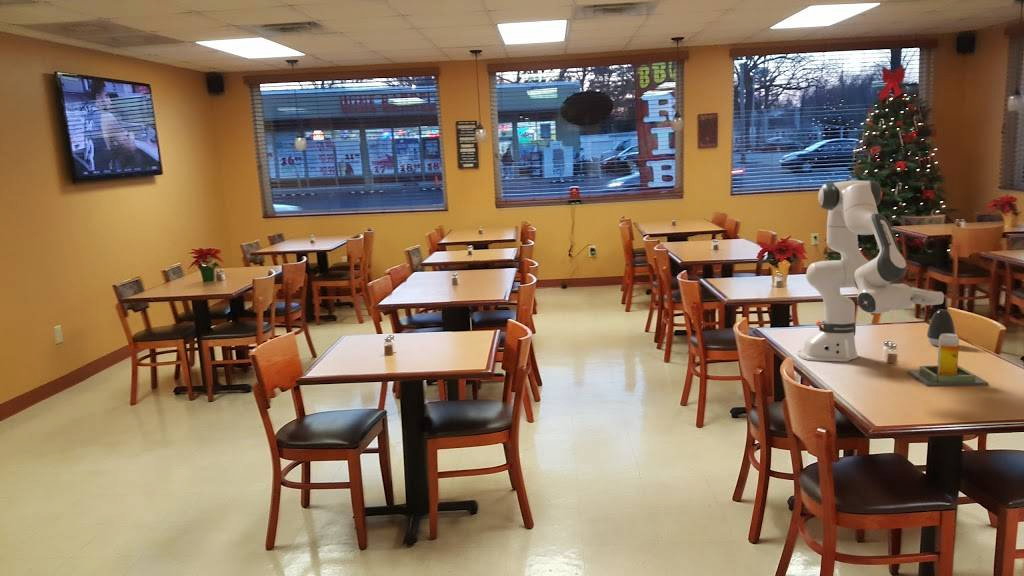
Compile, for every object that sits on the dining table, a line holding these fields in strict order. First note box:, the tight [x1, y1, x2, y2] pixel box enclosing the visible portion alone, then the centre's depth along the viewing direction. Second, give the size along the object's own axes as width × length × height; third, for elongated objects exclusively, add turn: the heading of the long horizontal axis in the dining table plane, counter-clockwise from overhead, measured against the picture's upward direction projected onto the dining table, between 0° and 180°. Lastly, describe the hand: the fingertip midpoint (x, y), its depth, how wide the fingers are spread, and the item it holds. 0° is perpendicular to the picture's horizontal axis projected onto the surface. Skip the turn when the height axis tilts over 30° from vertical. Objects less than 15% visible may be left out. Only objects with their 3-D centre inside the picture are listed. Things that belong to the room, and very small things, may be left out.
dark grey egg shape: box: [926, 308, 956, 347], centre depth 304 cm, size 10×10×15 cm
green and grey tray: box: [907, 365, 989, 387], centre depth 261 cm, size 20×16×3 cm
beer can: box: [937, 333, 960, 375], centre depth 259 cm, size 6×6×15 cm
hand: (928, 291), depth 258 cm, fingers open, 8 cm apart
